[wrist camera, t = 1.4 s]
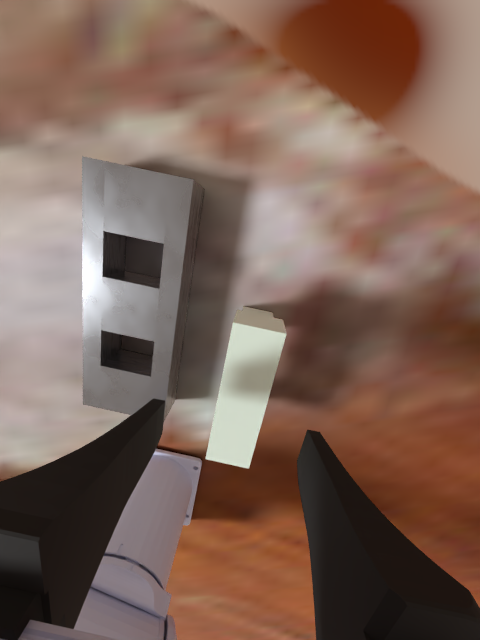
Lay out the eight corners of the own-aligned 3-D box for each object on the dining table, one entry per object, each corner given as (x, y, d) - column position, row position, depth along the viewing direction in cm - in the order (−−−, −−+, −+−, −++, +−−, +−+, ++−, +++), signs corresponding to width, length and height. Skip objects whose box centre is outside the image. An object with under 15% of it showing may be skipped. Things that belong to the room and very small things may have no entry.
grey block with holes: (175, 399, 24) (163, 422, 21) (104, 384, 24) (82, 404, 21) (204, 188, 18) (193, 179, 15) (110, 168, 18) (82, 156, 15)
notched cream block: (252, 407, 23) (248, 468, 17) (220, 400, 23) (205, 459, 17) (278, 303, 20) (286, 333, 14) (241, 295, 20) (232, 322, 14)
